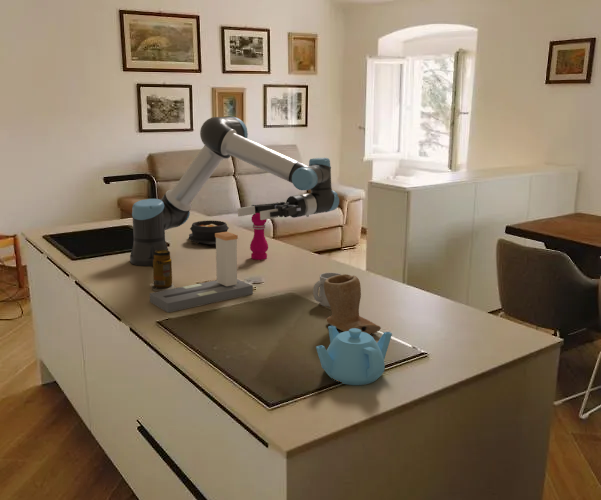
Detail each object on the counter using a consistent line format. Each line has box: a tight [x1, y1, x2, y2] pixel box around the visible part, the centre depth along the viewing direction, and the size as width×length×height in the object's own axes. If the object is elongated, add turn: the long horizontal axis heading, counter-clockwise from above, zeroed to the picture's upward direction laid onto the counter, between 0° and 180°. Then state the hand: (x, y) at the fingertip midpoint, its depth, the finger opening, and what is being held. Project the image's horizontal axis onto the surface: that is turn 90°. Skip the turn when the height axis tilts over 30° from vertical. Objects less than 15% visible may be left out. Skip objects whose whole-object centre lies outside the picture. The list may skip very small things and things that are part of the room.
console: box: [149, 278, 254, 313], centre depth 187 cm, size 30×12×3 cm, turn 129°
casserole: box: [187, 220, 230, 246], centre depth 263 cm, size 25×19×8 cm
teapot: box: [315, 325, 393, 386], centre depth 135 cm, size 15×15×11 cm
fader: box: [215, 231, 239, 286], centre depth 190 cm, size 4×6×16 cm
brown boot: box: [324, 273, 382, 335], centre depth 161 cm, size 15×12×15 cm
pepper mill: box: [249, 213, 269, 261], centre depth 235 cm, size 7×7×20 cm
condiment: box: [150, 249, 176, 292], centre depth 197 cm, size 7×8×12 cm
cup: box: [312, 272, 343, 308], centre depth 182 cm, size 7×10×9 cm
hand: (249, 214), depth 195 cm, fingers open, 13 cm apart
